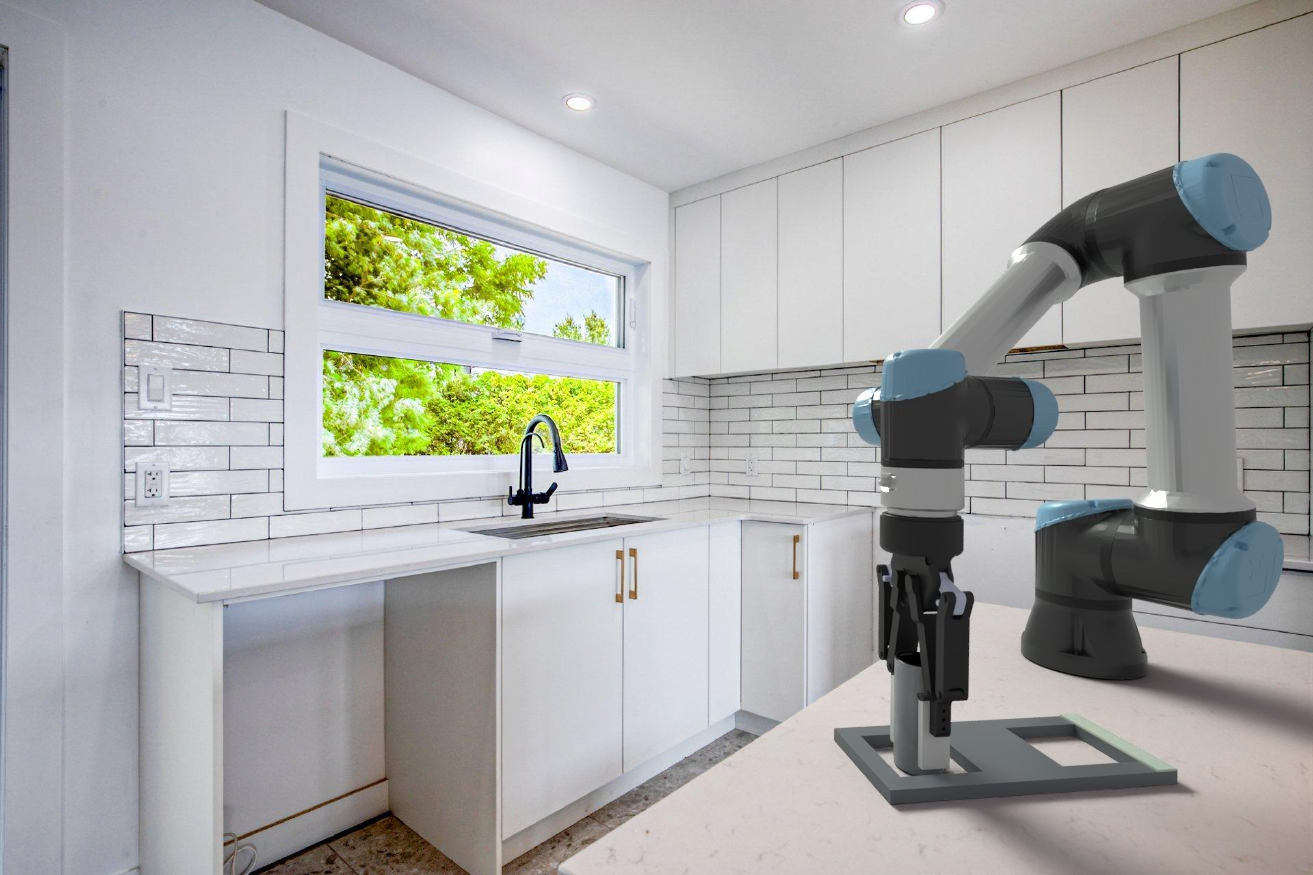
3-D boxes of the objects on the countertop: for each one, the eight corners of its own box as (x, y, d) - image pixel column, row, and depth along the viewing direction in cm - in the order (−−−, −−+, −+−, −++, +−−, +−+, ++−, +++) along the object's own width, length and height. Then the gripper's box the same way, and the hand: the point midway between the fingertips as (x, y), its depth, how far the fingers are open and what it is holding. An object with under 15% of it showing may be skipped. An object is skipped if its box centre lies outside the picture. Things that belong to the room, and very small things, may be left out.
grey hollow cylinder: (941, 758, 64) (943, 654, 64) (946, 781, 60) (947, 669, 60) (893, 750, 66) (894, 648, 66) (893, 772, 62) (894, 663, 61)
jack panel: (1076, 725, 72) (1076, 713, 72) (1177, 783, 60) (1177, 768, 60) (833, 739, 68) (834, 726, 68) (890, 804, 56) (890, 787, 56)
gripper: (845, 502, 71) (843, 715, 71) (935, 524, 54) (932, 807, 54) (910, 501, 72) (907, 712, 72) (1019, 523, 55) (1016, 801, 55)
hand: (918, 752), depth 63 cm, fingers closed on grey hollow cylinder, 4 cm apart
